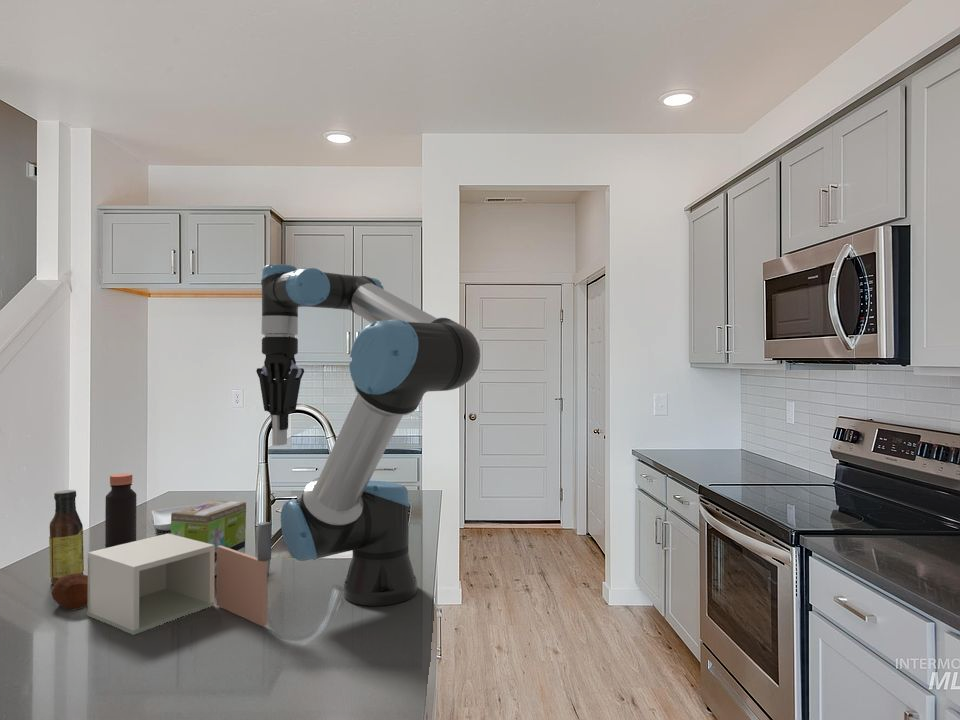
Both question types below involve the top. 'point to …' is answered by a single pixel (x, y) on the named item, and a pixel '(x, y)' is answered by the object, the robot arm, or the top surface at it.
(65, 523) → the sauce bottle
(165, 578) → the case
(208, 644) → the top surface
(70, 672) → the top surface
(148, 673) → the top surface
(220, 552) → the side door
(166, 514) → the salad plate
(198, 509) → the tea box
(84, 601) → the potato
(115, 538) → the vinegar
